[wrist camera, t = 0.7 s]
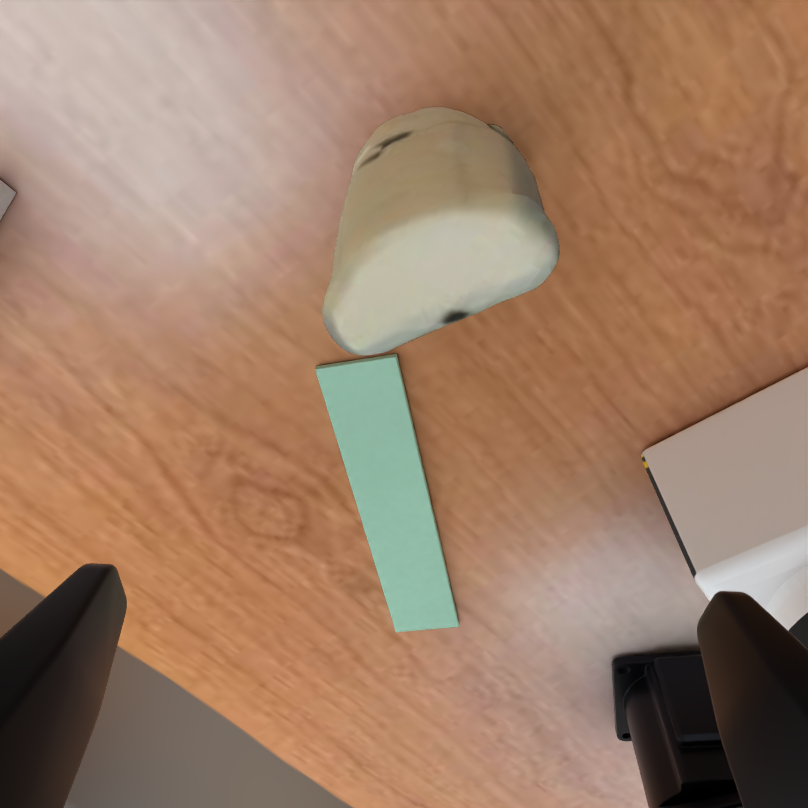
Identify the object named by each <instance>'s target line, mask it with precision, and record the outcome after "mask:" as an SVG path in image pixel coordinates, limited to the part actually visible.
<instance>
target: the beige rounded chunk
mask: <svg viewBox="0 0 808 808" xmlns="http://www.w3.org/2000/svg"><path fill="white" fill-rule="evenodd" d="M558 259H559V242H558V237H557V233H556V230H555V227H554V225H553V224H552V223H551V221H550V220H549V219H548V217H547V215H546V214H545V212H544V208H543V204H542V201H541V197H540V194H539V190H538V188H537V183H536V179H535V177H534V175H533V173H532V172H531V170H530V168H529V166H528V165H527V163H526V161H525V159H524V158H523V156H522V155H521V153H520V152H519V151H518V149H517V148H516V147H515V146H514V144H513V142H512V141H511V140H510V139H509V137H508V136H507V135H506V134H505V133H504V131H503V130H502V128H500V127H499V126H496V125H493V124H485V123H484V122H482V121H481V120H479V119H477V118H475V117H473V116H471V115H469V114H467V113H465V112H461V111H457V110H453V109H450V108H446V107H429V108H422V109H420V110H417V111H414V112H411V113H408V114H403V115H399V116H396V117H394V118H392V119H389V120H388V121H386V122H385V123H383V124H382V125H380V126H379V127H378V128H377V129H376V131H375V132H374V133H373V134H372V136H371V137H370V138H369V139H368V141H367V142H366V143H365V145H364V146H363V148H362V149H361V151H360V152H359V154H358V156H357V158H356V161H355V164H354V168H353V172H352V179H351V181H350V185H349V188H348V192H347V195H346V199H345V203H344V208H343V212H342V216H341V220H340V224H339V228H338V235H337V240H336V246H335V252H334V258H333V272H332V278H331V281H330V283H329V287H328V290H327V293H326V296H325V299H324V304H323V309H322V313H323V319H324V324H325V326H326V328H327V330H328V332H329V334H330V335H331V337H332V339H333V340H334V341H335V342H336V343H337V344H338V345H339V346H340V347H341V348H343V349H344V350H346V351H348V352H349V353H352V354H357V355H374V354H379V353H384V352H388V351H390V350H392V349H394V348H396V347H398V346H401V345H403V344H405V343H407V342H409V341H412V340H414V339H416V338H419V337H421V336H423V335H426V334H428V333H430V332H432V331H434V330H437V329H439V328H441V327H444V326H446V325H448V324H451V323H454V322H456V321H459V320H461V319H464V318H466V317H468V316H471V315H474V314H477V313H479V312H481V311H483V310H485V309H487V308H489V307H491V306H493V305H496V304H498V303H500V302H503V301H505V300H508V299H511V298H513V297H516V296H519V295H521V294H524V293H526V292H529V291H531V290H533V289H536V288H537V287H538V286H539V285H541V284H542V283H543V282H544V281H545V280H546V279H547V278H548V277H549V275H550V274H551V273H552V271H553V270H554V268H555V266H556V264H557V262H558Z"/></svg>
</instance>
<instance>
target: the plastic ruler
mask: <svg viewBox="0 0 808 808" xmlns="http://www.w3.org/2000/svg"><path fill="white" fill-rule="evenodd" d="M315 371H316V374H317V377H318V380H319V384H320V387H321V390H322V393H323V397H324V400H325V403H326V406H327V410H328V413H329V416H330V419H331V423H332V426H333V429H334V432H335V436H336V439H337V442H338V445H339V449H340V452H341V455H342V458H343V462H344V465H345V468H346V471H347V475H348V478H349V481H350V484H351V488H352V491H353V494H354V498H355V501H356V504H357V507H358V511H359V514H360V517H361V520H362V524H363V527H364V530H365V533H366V537H367V540H368V543H369V546H370V550H371V553H372V556H373V559H374V563H375V566H376V569H377V572H378V576H379V579H380V582H381V585H382V589H383V592H384V595H385V598H386V602H387V605H388V608H389V611H390V615H391V618H392V621H393V624H394V628H395V631H396V632H403V631H415V630H427V629H439V628H451V627H459V620H458V616H457V611H456V607H455V603H454V598H453V594H452V590H451V585H450V581H449V577H448V572H447V568H446V564H445V560H444V555H443V551H442V547H441V542H440V538H439V534H438V529H437V525H436V521H435V516H434V512H433V508H432V503H431V499H430V495H429V490H428V486H427V482H426V478H425V473H424V469H423V465H422V460H421V456H420V452H419V447H418V443H417V439H416V434H415V430H414V426H413V421H412V417H411V413H410V409H409V404H408V400H407V396H406V391H405V387H404V383H403V378H402V374H401V370H400V365H399V361H398V357H397V354H391V355H385V356H378V357H372V358H366V359H359V360H353V361H346V362H340V363H334V364H327V365H321V366H316V369H315Z"/></svg>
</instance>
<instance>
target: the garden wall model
mask: <svg viewBox="0 0 808 808" xmlns="http://www.w3.org/2000/svg"><path fill="white" fill-rule="evenodd" d="M15 194H16V192H15V191H14V190H12V189H11V188H10V187H9V186H7V185H6V184H5V183H3V182H2V181H1V180H0V220H1V218H2V216H3V215H4V213H5V211H6V210H7V208H8V206H9V204H10V203H11V201H12V199H13V198H14V196H15Z"/></svg>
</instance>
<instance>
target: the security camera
mask: <svg viewBox="0 0 808 808" xmlns="http://www.w3.org/2000/svg"><path fill="white" fill-rule="evenodd" d="M642 462H643V464H644V466H645V468H646V471H647V473H648V475H649V477H650V480H651V482H652V484H653V487H654V489H655V491H656V493H657V496H658V498H659V500H660V502H661V505H662V507H663V509H664V512H665V514H666V516H667V518H668V521H669V523H670V525H671V527H672V530H673V532H674V534H675V537H676V539H677V541H678V543H679V546H680V548H681V550H682V552H683V555H684V557H685V559H686V561H687V564H688V566H689V568H690V571H691V573H692V575H693V577H694V580H695V582H696V583H697V585H698V586H699V587H700V589H701V590H702V591H703V593H704V594H705V595H706V597H707V598H708V600H709V601H711V599H712V598H713V596H714V595H715V594H716V593H717V592H719V591H736V592H744V593H746V594H748V595H750V596H751V597H752V598H753V599H754V600H755V601H757V602H758V603H759V604H760V605H761V606H762V607H763V608H764V609H765V610H766V611H767V612H768V613H770V614H771V615H772V616H773V617H774V618H775V619H776V620H777V621H778V622H779V623H780V624H781V625H782V626H784V627H785V628H786V629H787V630H788V631H789V632H790V633H791V634H792V635H793V636H794V637H795V638H796V639H798V640H799V641H800V642H801V643H802V644H803V645H804V646H805V647H806V648H807V649H808V367H807V368H805V369H803V370H801V371H799V372H797V373H795V374H793V375H791V376H789V377H787V378H785V379H783V380H781V381H779V382H777V383H775V384H773V385H771V386H769V387H767V388H765V389H763V390H761V391H759V392H758V393H756V394H754V395H752V396H750V397H748V398H746V399H744V400H742V401H740V402H738V403H736V404H734V405H732V406H730V407H728V408H726V409H724V410H722V411H720V412H718V413H716V414H714V415H712V416H710V417H708V418H706V419H704V420H702V421H700V422H698V423H697V424H695V425H693V426H691V427H689V428H687V429H685V430H683V431H681V432H679V433H677V434H675V435H673V436H671V437H669V438H667V439H665V440H663V441H661V442H659V443H657V444H655V445H653V446H651V447H649V448H647V449H646V450H644V451H643V453H642Z"/></svg>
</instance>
